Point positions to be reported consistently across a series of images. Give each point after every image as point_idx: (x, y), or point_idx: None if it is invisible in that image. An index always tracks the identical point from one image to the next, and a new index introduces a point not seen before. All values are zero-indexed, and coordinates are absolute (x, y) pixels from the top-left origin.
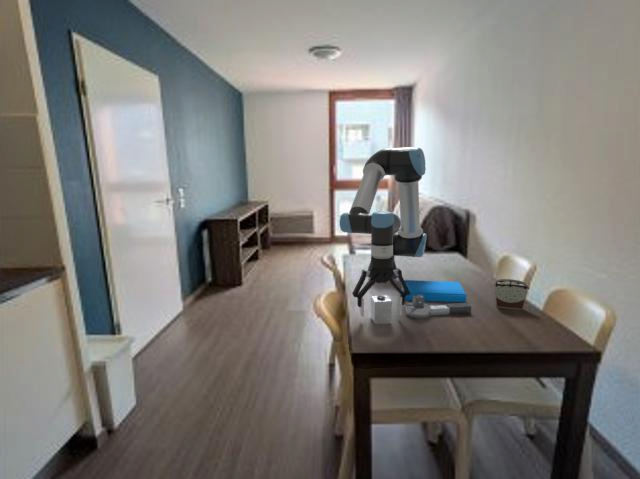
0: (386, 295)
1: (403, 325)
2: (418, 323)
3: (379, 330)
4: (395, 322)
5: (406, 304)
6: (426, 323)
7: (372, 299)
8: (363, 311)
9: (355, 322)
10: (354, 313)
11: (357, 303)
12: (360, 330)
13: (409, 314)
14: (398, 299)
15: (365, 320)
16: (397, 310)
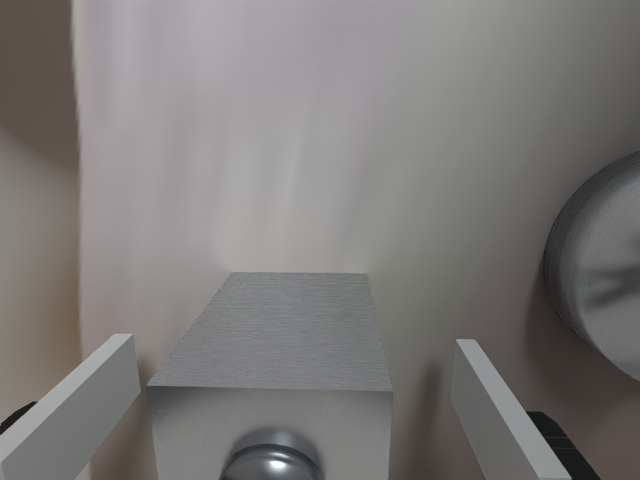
0: (379, 392)
1: (437, 432)
2: (559, 417)
3: None
4: (399, 380)
5: (629, 205)
6: (617, 425)
7: (163, 453)
8: (113, 423)
9: None
10: (103, 164)
11: (6, 419)
12: (132, 460)
13: (562, 309)
14: (508, 465)
15: (182, 318)
16: (461, 349)
